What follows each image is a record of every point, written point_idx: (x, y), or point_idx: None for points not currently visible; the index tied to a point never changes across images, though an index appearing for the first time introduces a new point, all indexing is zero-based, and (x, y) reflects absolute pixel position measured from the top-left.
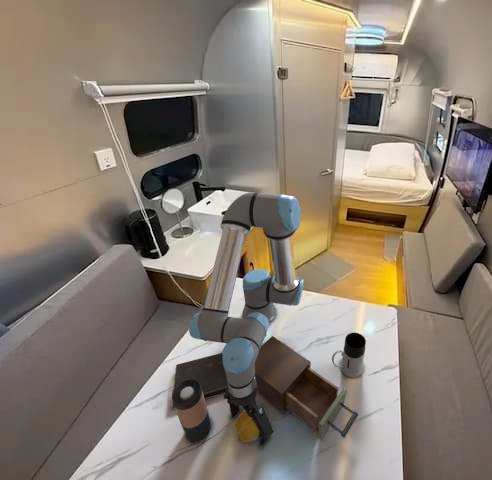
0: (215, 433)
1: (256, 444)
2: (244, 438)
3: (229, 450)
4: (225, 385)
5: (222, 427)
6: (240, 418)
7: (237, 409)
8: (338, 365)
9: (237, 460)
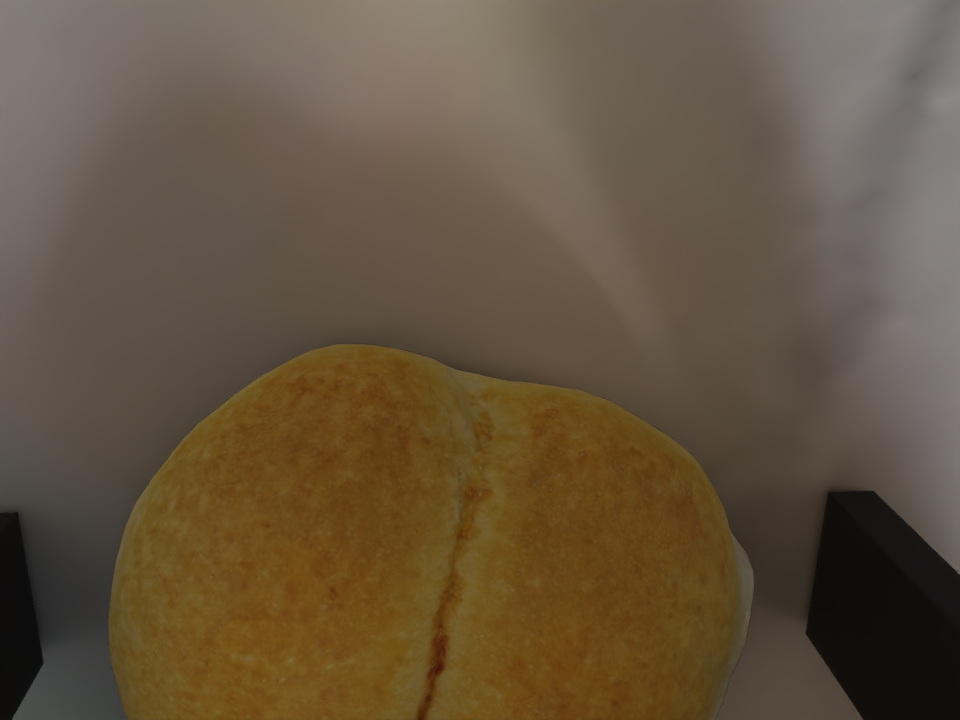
0: (939, 94)
1: (88, 467)
2: (273, 422)
3: (433, 64)
4: None
5: (892, 258)
6: (662, 650)
7: (869, 680)
8: None
9: (135, 42)
